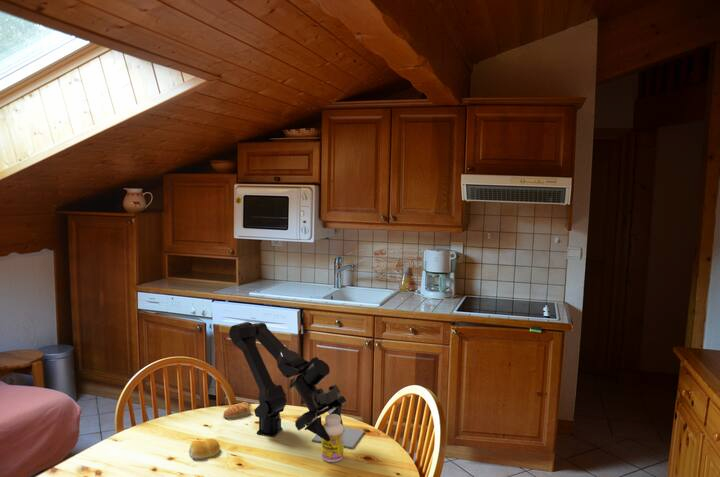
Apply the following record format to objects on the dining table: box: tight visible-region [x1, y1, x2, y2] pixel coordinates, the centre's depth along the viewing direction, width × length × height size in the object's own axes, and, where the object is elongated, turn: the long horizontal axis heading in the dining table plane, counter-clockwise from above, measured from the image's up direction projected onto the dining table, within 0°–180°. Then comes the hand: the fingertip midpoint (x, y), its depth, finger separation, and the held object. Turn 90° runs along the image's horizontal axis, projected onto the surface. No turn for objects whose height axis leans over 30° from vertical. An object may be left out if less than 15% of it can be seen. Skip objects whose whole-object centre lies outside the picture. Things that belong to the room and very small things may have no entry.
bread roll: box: [188, 438, 221, 460], centre depth 160 cm, size 8×9×4 cm
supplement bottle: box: [321, 413, 345, 463], centre depth 157 cm, size 7×7×13 cm
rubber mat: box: [311, 426, 366, 450], centre depth 171 cm, size 14×12×1 cm
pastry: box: [222, 401, 252, 420], centre depth 186 cm, size 9×7×4 cm
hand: (336, 436), depth 157 cm, fingers closed on supplement bottle, 7 cm apart
